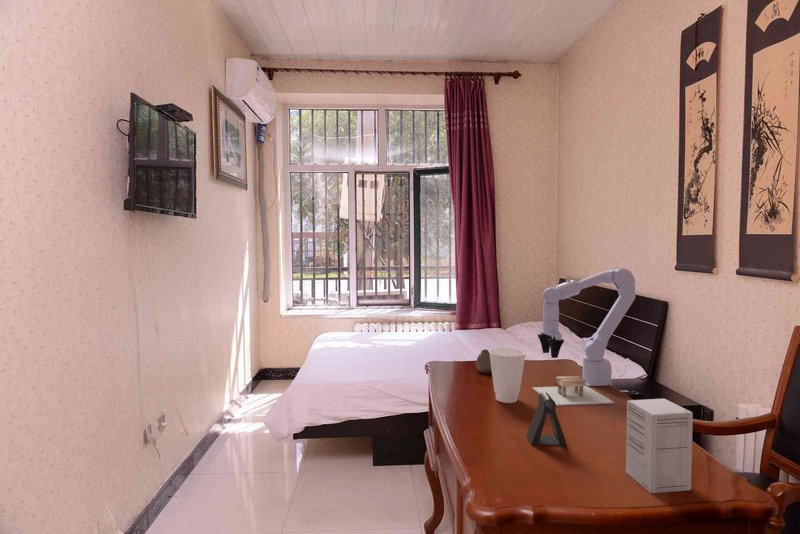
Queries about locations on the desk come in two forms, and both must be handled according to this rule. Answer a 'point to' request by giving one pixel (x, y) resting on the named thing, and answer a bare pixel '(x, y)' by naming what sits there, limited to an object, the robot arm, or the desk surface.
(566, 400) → the mat
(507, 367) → the cup
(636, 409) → the supplement box
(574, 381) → the tan plank with pegs
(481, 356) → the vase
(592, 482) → the desk surface
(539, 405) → the phone stand
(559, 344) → the robot arm
